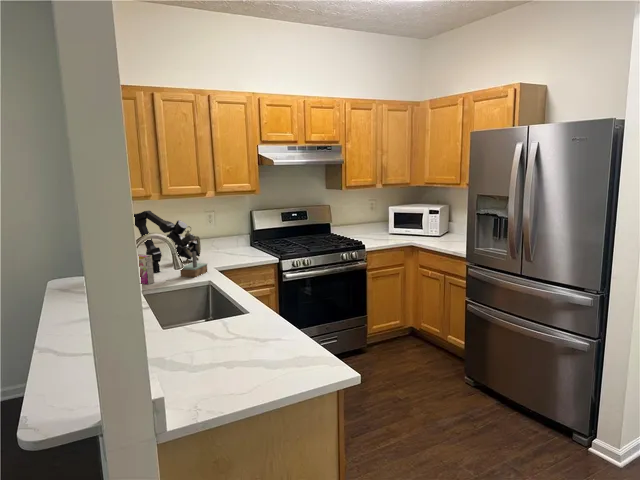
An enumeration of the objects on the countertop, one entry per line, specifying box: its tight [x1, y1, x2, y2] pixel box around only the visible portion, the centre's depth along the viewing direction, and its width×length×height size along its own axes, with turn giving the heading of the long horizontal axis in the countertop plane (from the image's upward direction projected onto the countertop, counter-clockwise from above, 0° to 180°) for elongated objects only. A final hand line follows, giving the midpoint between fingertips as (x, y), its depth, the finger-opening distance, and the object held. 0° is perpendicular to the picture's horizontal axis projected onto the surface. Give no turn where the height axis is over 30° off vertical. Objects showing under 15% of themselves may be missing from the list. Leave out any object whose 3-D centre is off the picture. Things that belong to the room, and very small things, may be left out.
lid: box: [183, 252, 208, 270], centre depth 266 cm, size 14×10×10 cm
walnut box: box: [179, 264, 208, 278], centre depth 267 cm, size 14×10×4 cm
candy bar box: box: [137, 253, 155, 285], centre depth 249 cm, size 11×5×16 cm, turn 65°
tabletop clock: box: [179, 225, 202, 264], centre depth 305 cm, size 14×9×25 cm, turn 158°
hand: (195, 257), depth 262 cm, fingers open, 9 cm apart
